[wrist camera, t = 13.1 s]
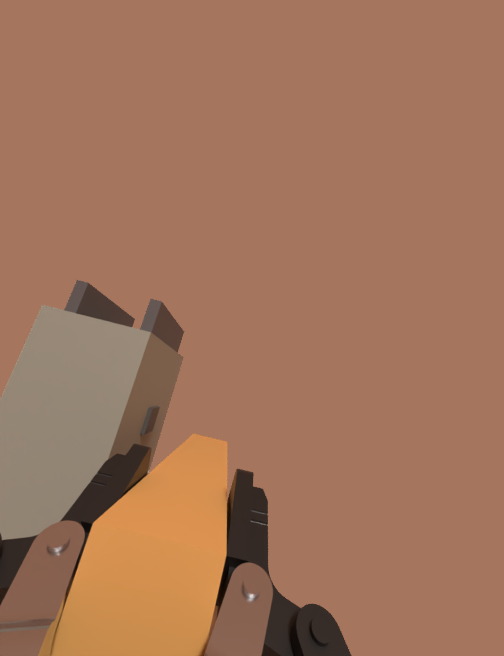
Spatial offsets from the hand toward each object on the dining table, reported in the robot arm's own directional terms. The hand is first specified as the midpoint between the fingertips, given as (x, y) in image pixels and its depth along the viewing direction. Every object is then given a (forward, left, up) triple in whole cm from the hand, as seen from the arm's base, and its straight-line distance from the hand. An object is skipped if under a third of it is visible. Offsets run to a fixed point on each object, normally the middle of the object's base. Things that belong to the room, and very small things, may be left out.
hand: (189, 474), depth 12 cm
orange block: (0, -6, -4) cm, 7 cm away
